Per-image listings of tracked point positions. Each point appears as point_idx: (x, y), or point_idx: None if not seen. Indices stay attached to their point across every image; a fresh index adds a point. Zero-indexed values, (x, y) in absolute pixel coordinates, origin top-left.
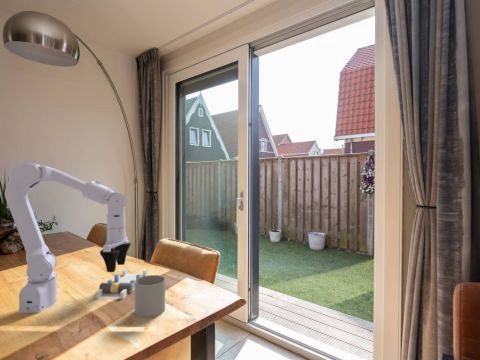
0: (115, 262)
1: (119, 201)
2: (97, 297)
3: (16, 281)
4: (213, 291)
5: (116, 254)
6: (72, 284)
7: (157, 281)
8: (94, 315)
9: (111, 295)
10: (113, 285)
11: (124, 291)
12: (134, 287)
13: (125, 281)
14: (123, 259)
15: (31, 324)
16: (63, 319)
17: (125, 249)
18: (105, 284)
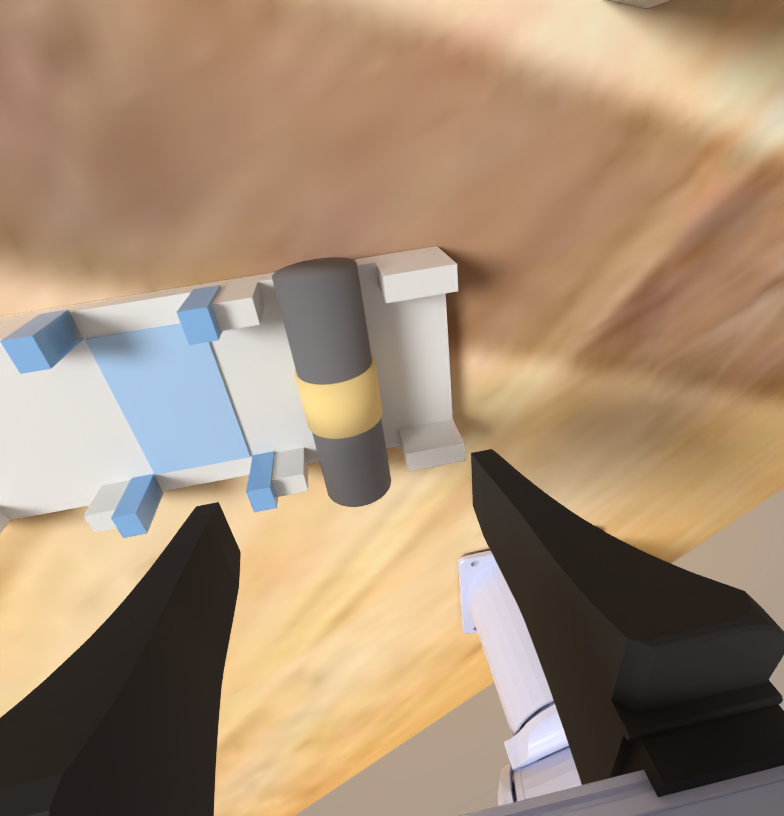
0: (549, 511)
1: None
2: (454, 428)
3: (289, 794)
4: None
5: (718, 589)
6: (249, 654)
7: None
8: (621, 318)
9: (394, 373)
10: (370, 410)
11: (431, 269)
12: (203, 288)
13: (108, 434)
14: (200, 557)
15: (663, 510)
16: (642, 433)
17: (136, 701)
18: (370, 470)
